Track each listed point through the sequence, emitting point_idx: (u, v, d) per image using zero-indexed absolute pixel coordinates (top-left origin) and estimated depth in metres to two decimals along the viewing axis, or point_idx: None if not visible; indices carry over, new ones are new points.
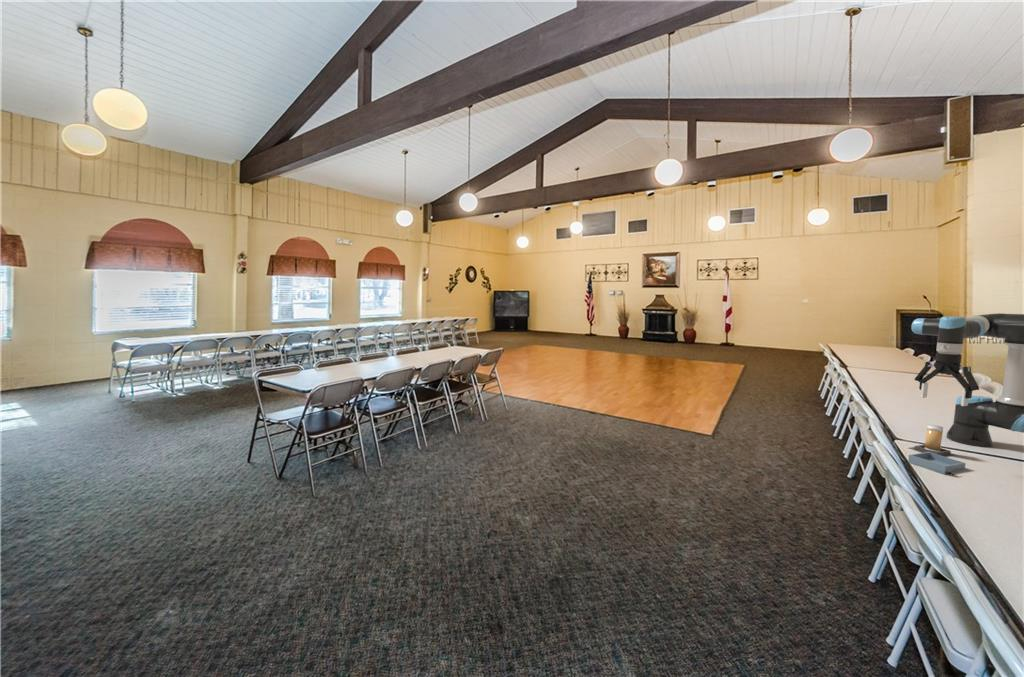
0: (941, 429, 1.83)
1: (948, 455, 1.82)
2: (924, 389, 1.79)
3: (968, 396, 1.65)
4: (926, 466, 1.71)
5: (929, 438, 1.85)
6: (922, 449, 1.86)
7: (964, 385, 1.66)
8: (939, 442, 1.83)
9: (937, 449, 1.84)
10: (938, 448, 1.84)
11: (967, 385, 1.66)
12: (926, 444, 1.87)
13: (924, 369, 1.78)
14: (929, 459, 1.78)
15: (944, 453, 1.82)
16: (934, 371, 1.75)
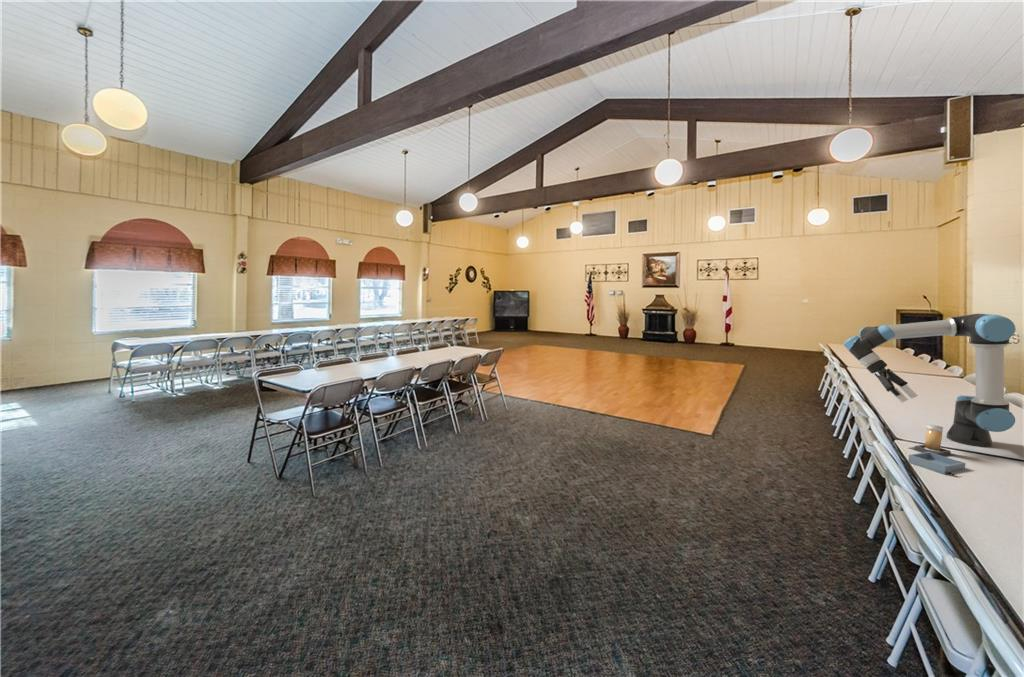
0: (941, 429, 1.83)
1: (948, 455, 1.82)
2: (906, 391, 1.98)
3: (895, 394, 1.90)
4: (926, 466, 1.71)
5: (929, 438, 1.85)
6: (922, 449, 1.86)
7: None
8: (939, 442, 1.83)
9: (937, 449, 1.84)
10: (938, 448, 1.84)
11: (888, 386, 1.93)
12: (926, 444, 1.87)
13: None
14: (929, 459, 1.78)
15: (944, 453, 1.82)
16: None
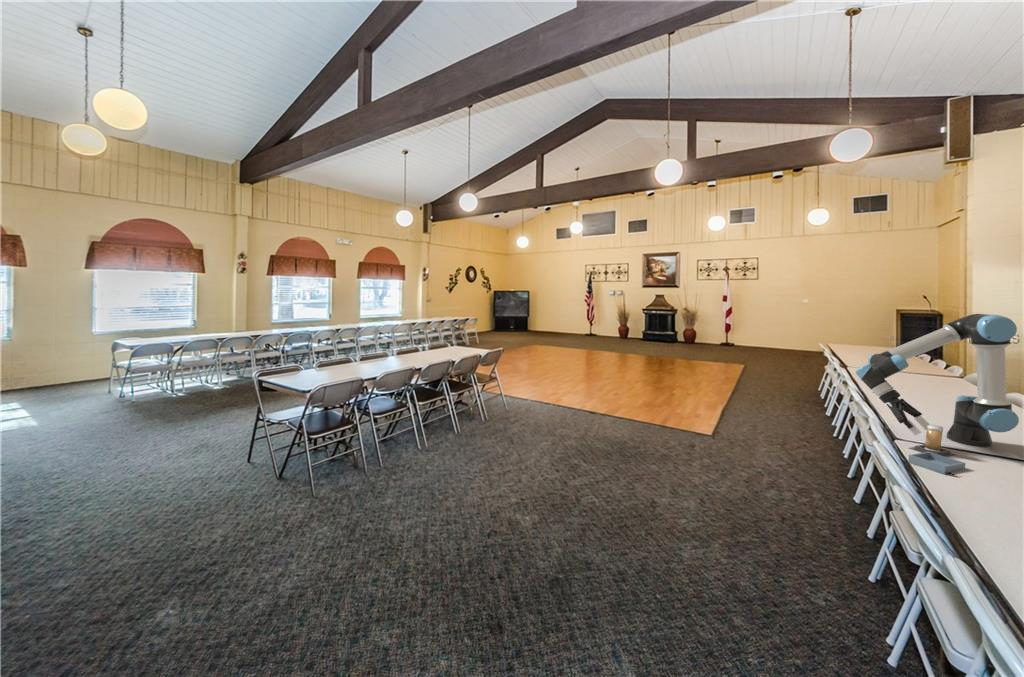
0: (941, 429, 1.83)
1: (948, 455, 1.82)
2: (920, 422, 1.94)
3: None
4: (926, 466, 1.71)
5: (929, 438, 1.85)
6: (922, 449, 1.86)
7: None
8: (939, 442, 1.83)
9: (937, 449, 1.84)
10: (938, 448, 1.84)
11: None
12: (926, 444, 1.87)
13: None
14: (929, 459, 1.78)
15: (944, 453, 1.82)
16: None
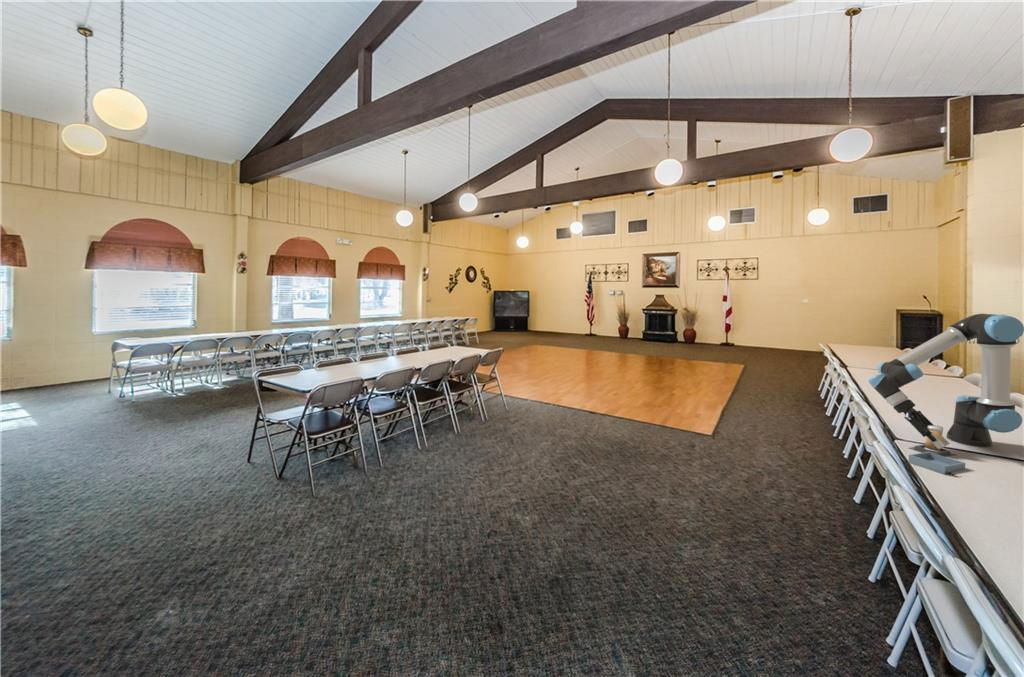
0: (941, 429, 1.83)
1: (948, 455, 1.82)
2: None
3: None
4: (926, 466, 1.71)
5: None
6: (922, 449, 1.86)
7: None
8: None
9: (937, 449, 1.84)
10: None
11: None
12: (926, 444, 1.87)
13: None
14: (929, 459, 1.78)
15: (944, 453, 1.82)
16: None
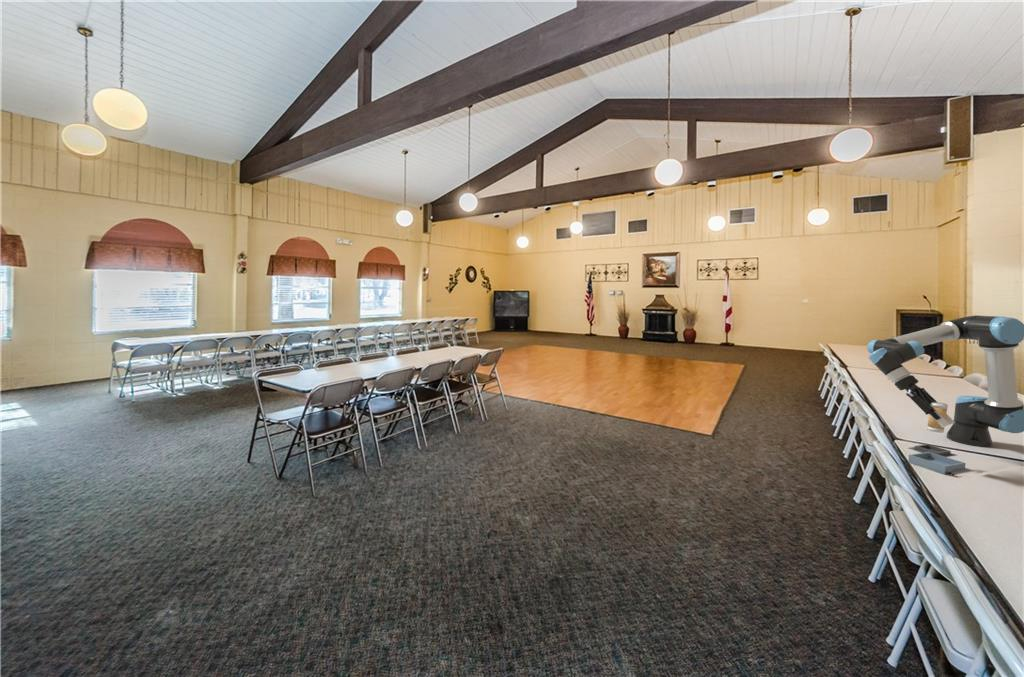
0: (945, 406, 1.70)
1: (948, 455, 1.82)
2: None
3: (934, 418, 1.71)
4: (926, 466, 1.71)
5: None
6: (922, 449, 1.86)
7: None
8: None
9: (941, 428, 1.71)
10: (942, 427, 1.71)
11: None
12: (929, 422, 1.74)
13: None
14: (929, 459, 1.78)
15: (944, 453, 1.82)
16: None
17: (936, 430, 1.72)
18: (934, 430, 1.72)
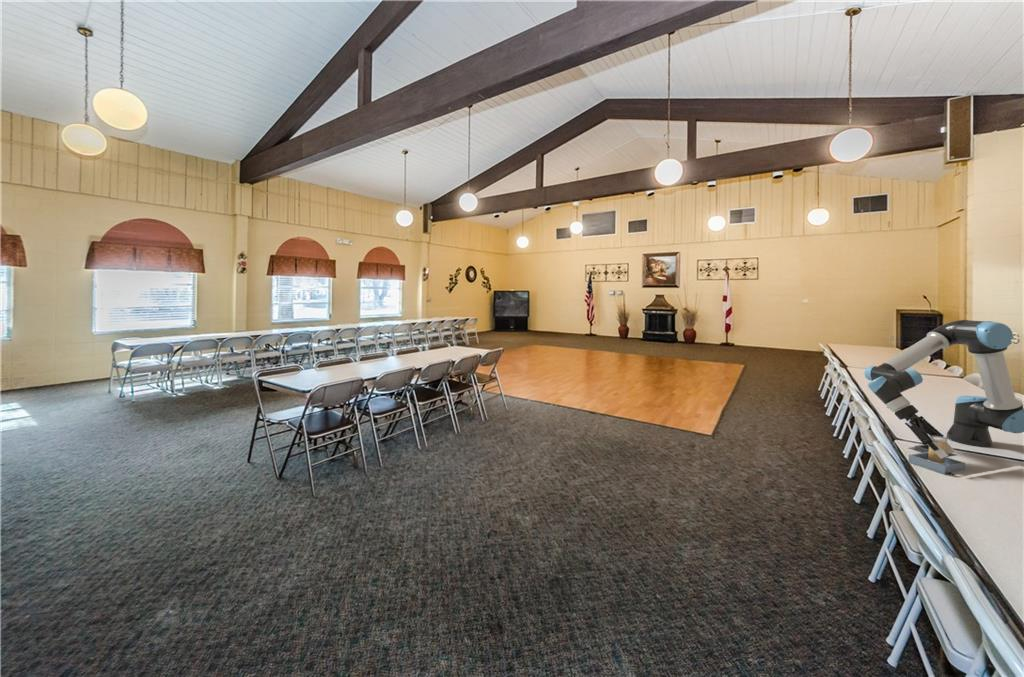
0: (945, 440, 1.69)
1: None
2: None
3: None
4: (926, 466, 1.71)
5: (932, 450, 1.72)
6: (922, 449, 1.86)
7: None
8: None
9: (941, 462, 1.70)
10: (942, 461, 1.70)
11: None
12: (929, 456, 1.73)
13: None
14: None
15: None
16: None
17: None
18: None
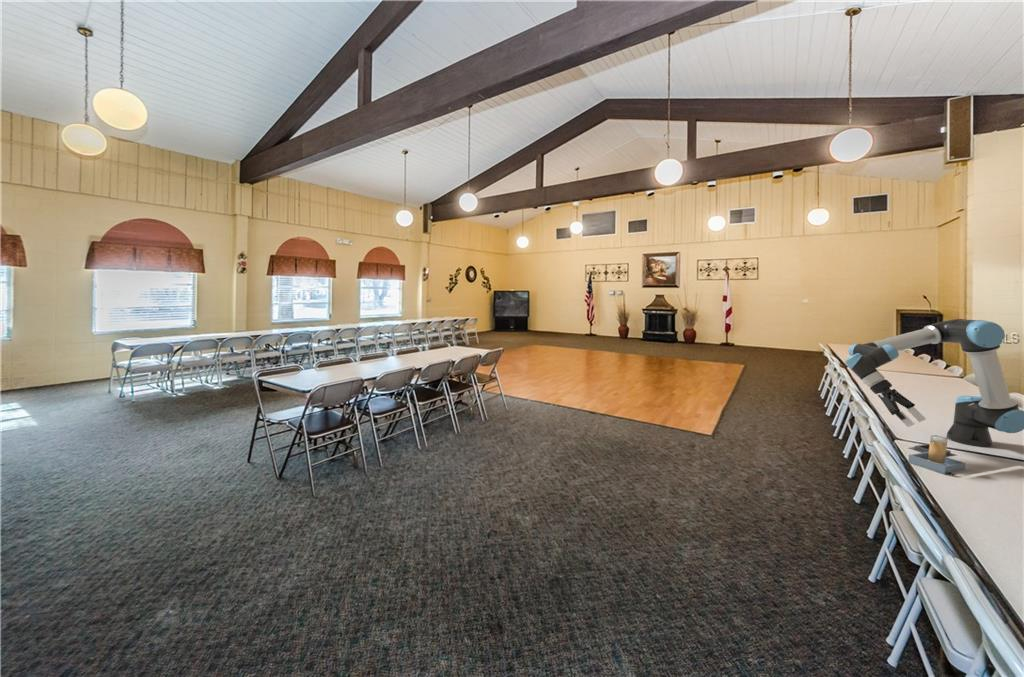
0: (945, 440, 1.69)
1: (948, 455, 1.82)
2: (913, 414, 1.83)
3: None
4: (926, 466, 1.71)
5: (932, 450, 1.72)
6: (922, 449, 1.86)
7: None
8: (943, 454, 1.70)
9: (941, 462, 1.70)
10: (942, 461, 1.70)
11: None
12: (929, 456, 1.73)
13: None
14: None
15: None
16: None
17: None
18: None
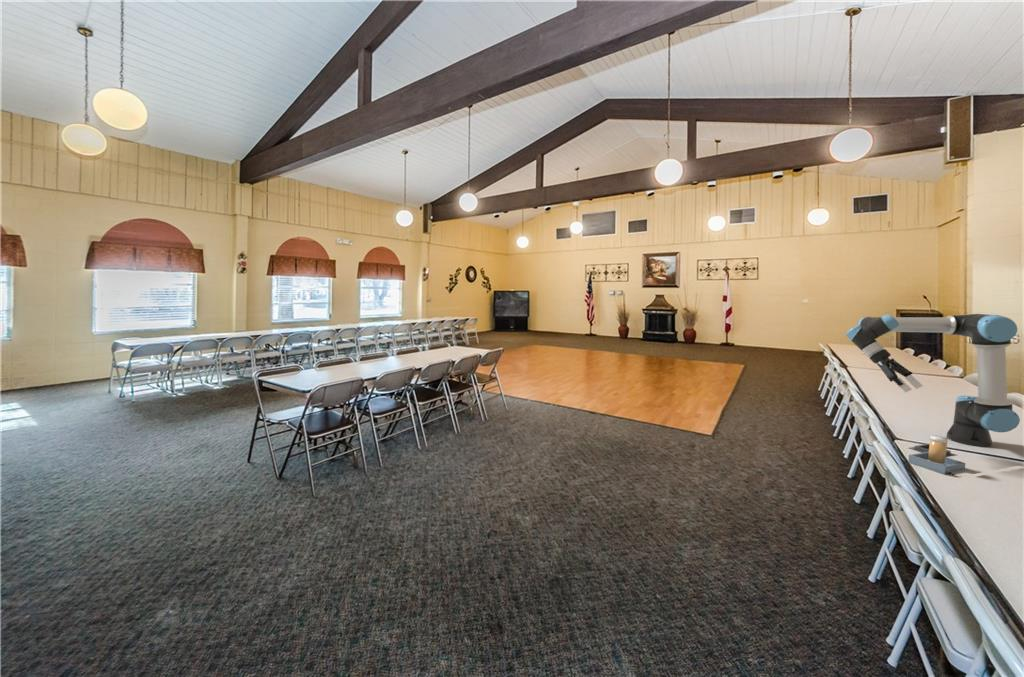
0: (945, 440, 1.69)
1: (948, 455, 1.82)
2: (911, 381, 1.93)
3: (898, 384, 1.86)
4: (926, 466, 1.71)
5: (932, 450, 1.72)
6: (922, 449, 1.86)
7: None
8: (943, 454, 1.70)
9: (941, 462, 1.70)
10: (942, 461, 1.70)
11: (891, 375, 1.88)
12: (929, 456, 1.73)
13: None
14: None
15: None
16: None
17: None
18: None
